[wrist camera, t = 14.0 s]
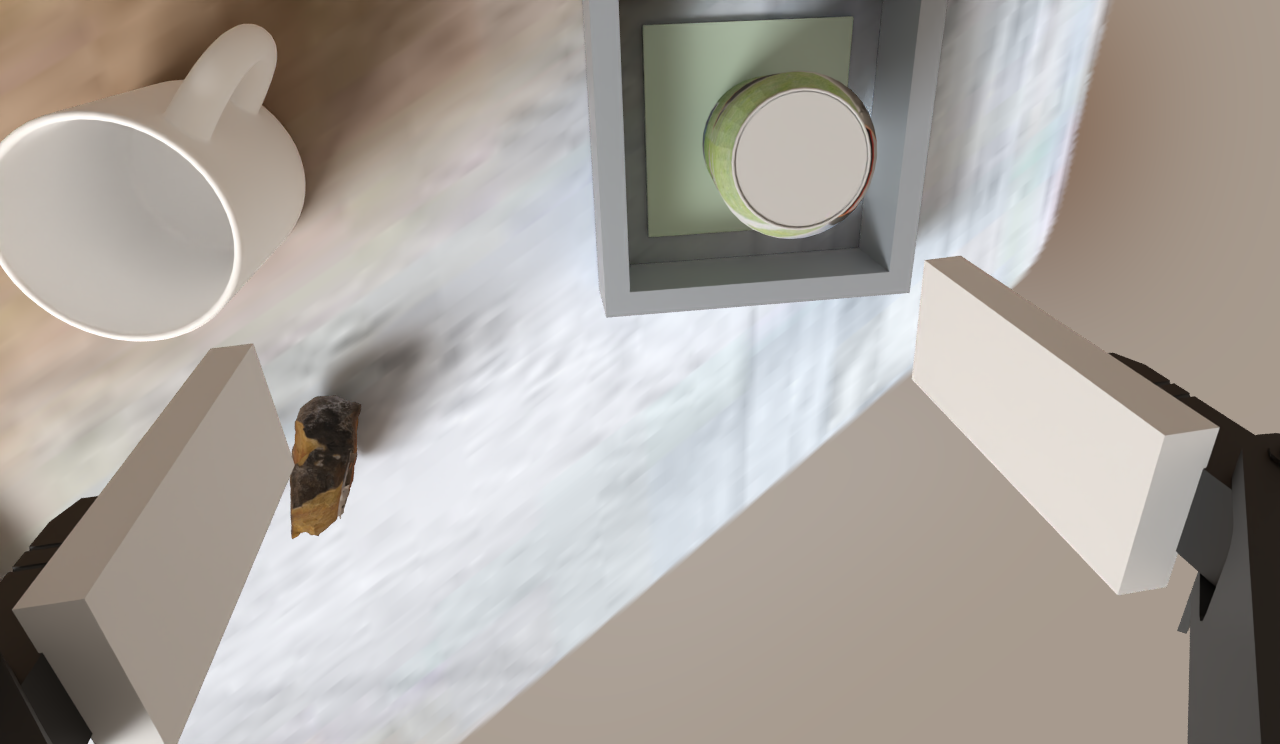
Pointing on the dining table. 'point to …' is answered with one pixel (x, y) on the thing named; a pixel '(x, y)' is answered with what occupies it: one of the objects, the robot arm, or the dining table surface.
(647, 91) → the corral
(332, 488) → the rock
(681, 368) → the dining table surface
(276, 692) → the dining table surface
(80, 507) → the robot arm
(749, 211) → the beverage can
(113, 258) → the mug
